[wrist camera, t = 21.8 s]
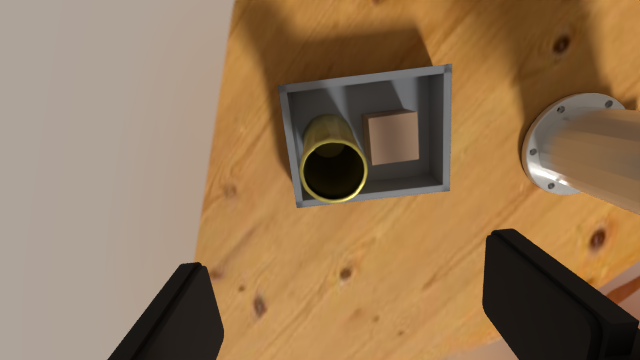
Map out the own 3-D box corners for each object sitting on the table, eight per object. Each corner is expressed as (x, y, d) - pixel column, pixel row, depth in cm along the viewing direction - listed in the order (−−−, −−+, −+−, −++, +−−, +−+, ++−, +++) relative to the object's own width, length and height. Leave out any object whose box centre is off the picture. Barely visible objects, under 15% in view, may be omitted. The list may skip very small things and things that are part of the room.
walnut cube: (403, 108, 35) (417, 111, 30) (405, 149, 37) (418, 159, 32) (361, 114, 35) (368, 118, 30) (365, 154, 37) (372, 165, 32)
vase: (297, 120, 35) (283, 143, 22) (347, 107, 35) (365, 123, 21) (310, 168, 37) (305, 217, 24) (357, 156, 37) (380, 199, 23)
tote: (433, 66, 34) (452, 63, 30) (433, 177, 38) (449, 190, 34) (283, 85, 35) (277, 85, 30) (299, 192, 39) (296, 208, 34)
